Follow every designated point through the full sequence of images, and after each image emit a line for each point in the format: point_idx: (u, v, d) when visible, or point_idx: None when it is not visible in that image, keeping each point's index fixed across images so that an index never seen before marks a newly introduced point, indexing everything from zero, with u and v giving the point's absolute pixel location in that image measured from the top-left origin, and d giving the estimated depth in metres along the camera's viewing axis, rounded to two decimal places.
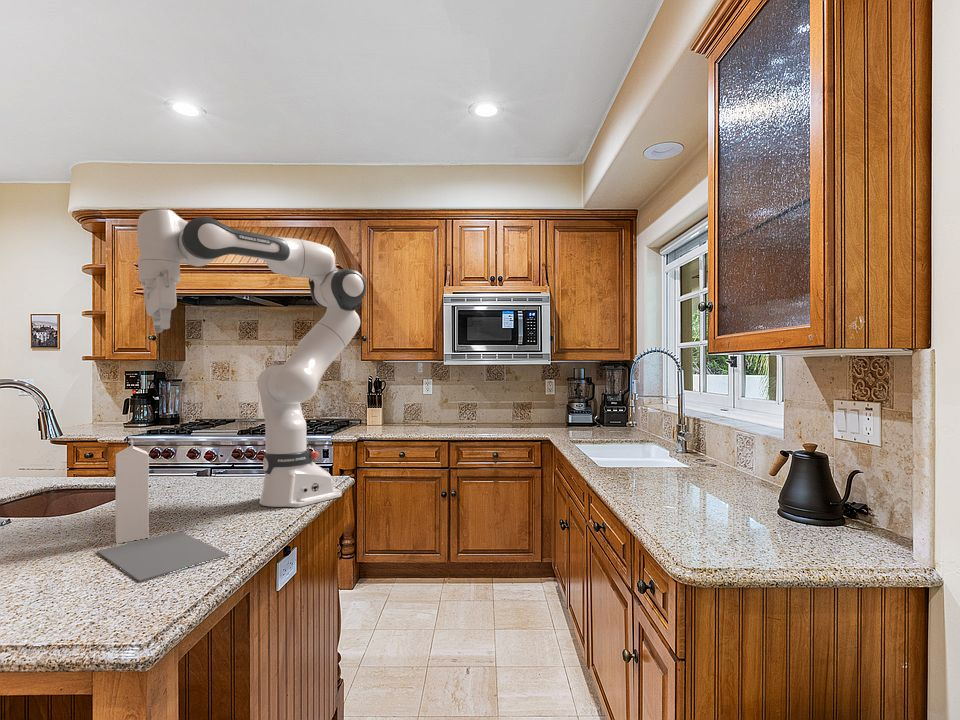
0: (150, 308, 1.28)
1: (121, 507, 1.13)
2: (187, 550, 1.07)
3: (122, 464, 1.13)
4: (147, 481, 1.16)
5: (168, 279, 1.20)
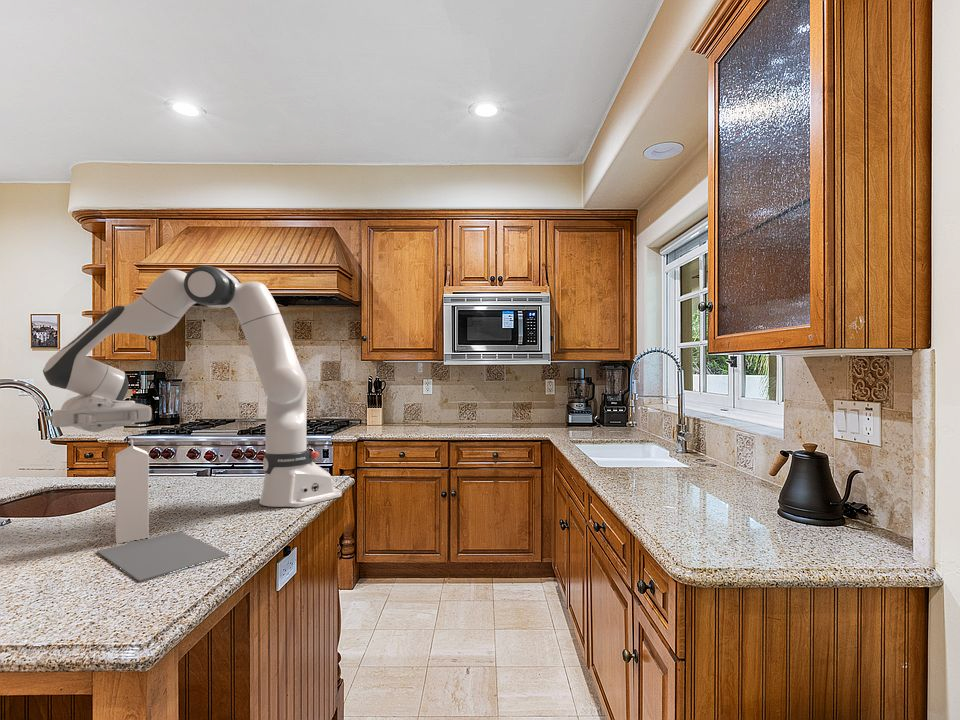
0: (119, 422, 1.30)
1: (121, 507, 1.13)
2: (187, 550, 1.07)
3: (122, 464, 1.13)
4: (147, 481, 1.16)
5: (46, 417, 1.23)
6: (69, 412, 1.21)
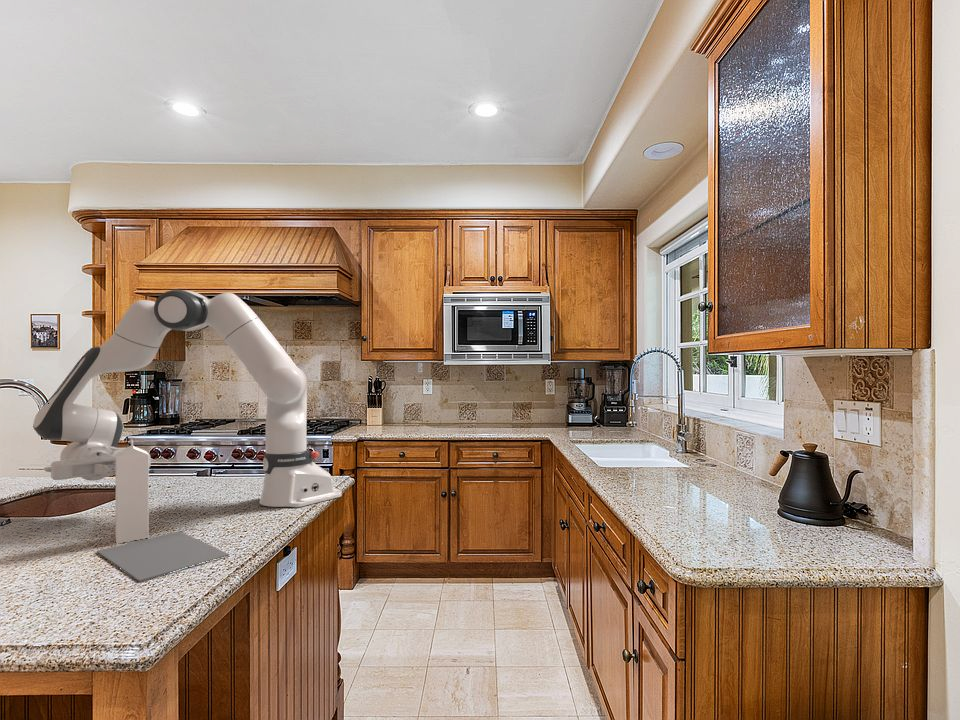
0: None
1: (121, 507, 1.13)
2: (187, 550, 1.07)
3: (122, 464, 1.13)
4: (147, 481, 1.16)
5: (45, 469, 1.23)
6: (68, 464, 1.21)
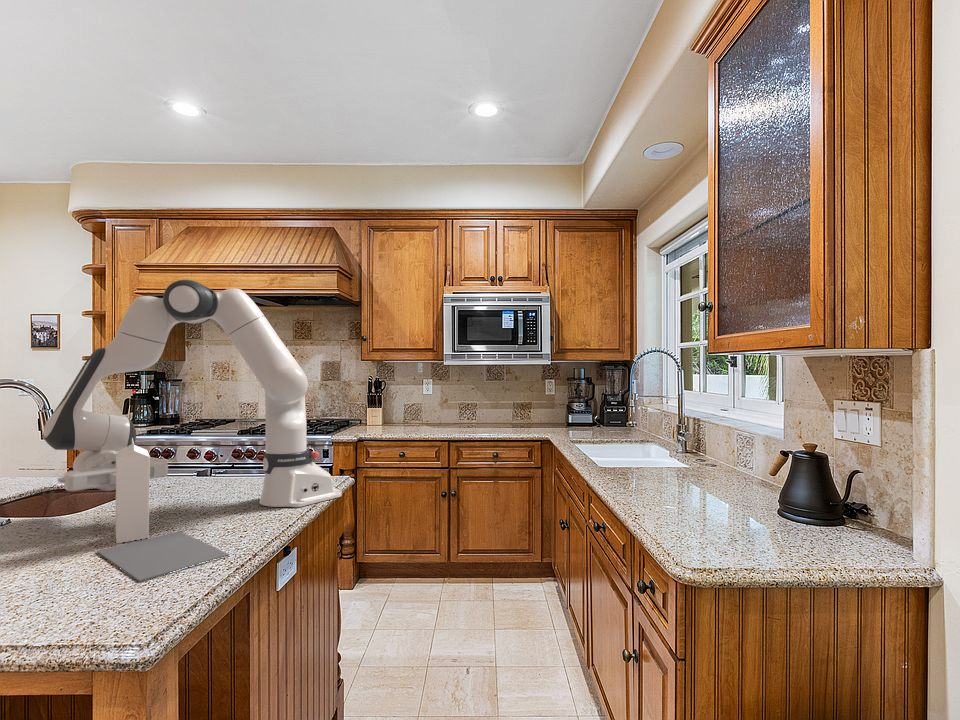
0: None
1: (121, 508, 1.12)
2: (187, 550, 1.07)
3: (122, 466, 1.11)
4: (148, 483, 1.14)
5: (59, 479, 1.16)
6: (83, 475, 1.15)
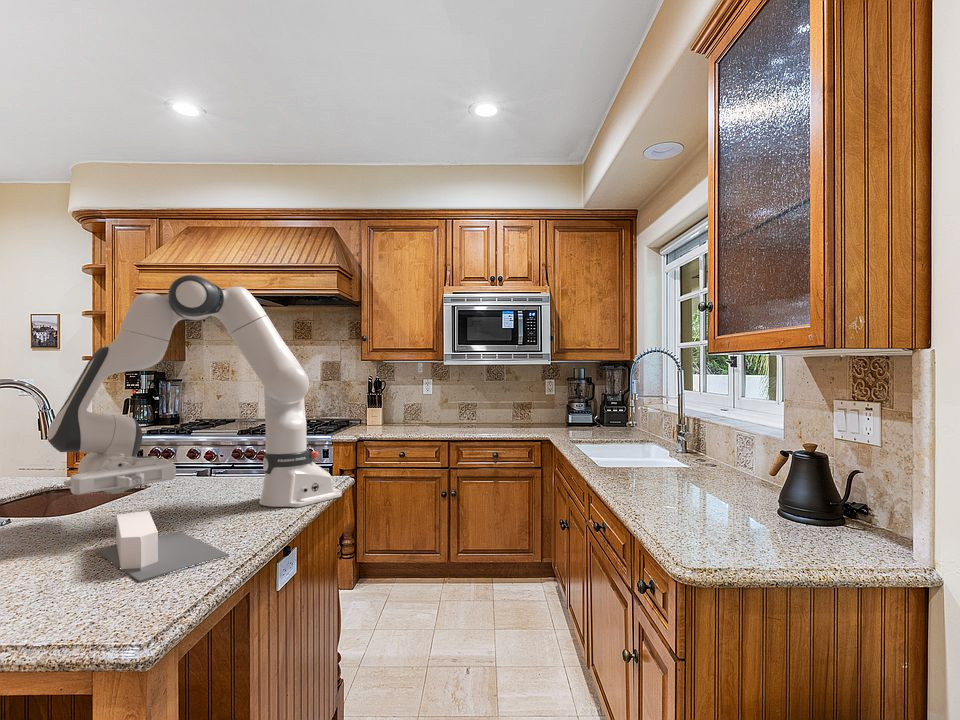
0: None
1: None
2: (187, 550, 1.07)
3: None
4: None
5: (65, 482, 1.13)
6: (89, 478, 1.12)
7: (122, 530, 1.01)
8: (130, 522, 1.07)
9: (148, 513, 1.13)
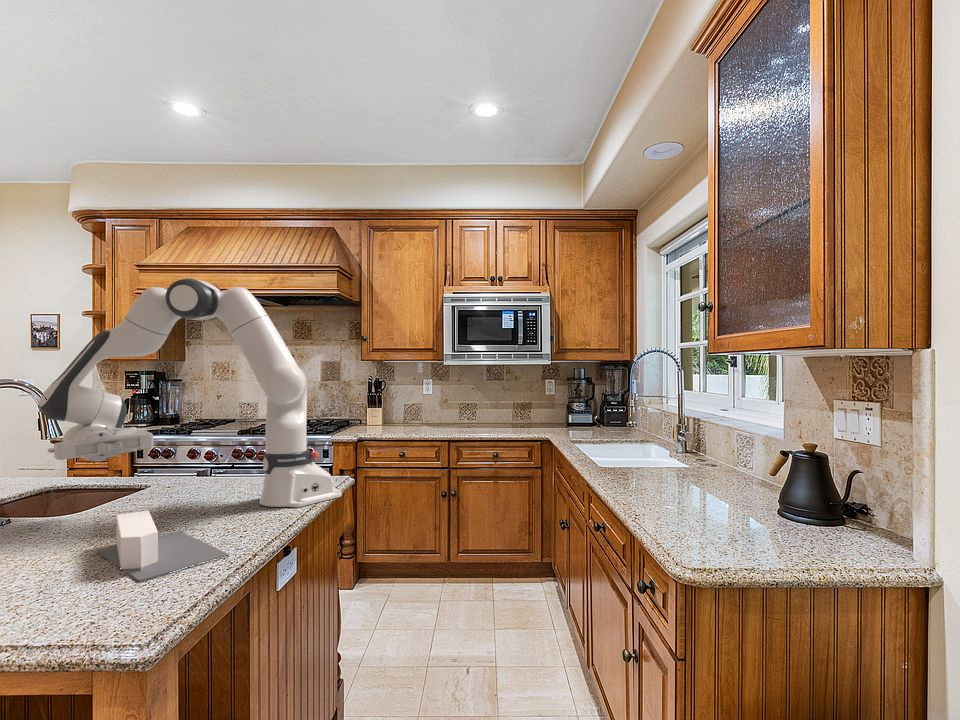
0: (122, 451, 1.30)
1: None
2: (187, 550, 1.07)
3: None
4: None
5: (49, 450, 1.23)
6: (71, 444, 1.21)
7: (122, 530, 1.01)
8: (130, 522, 1.07)
9: (148, 513, 1.13)
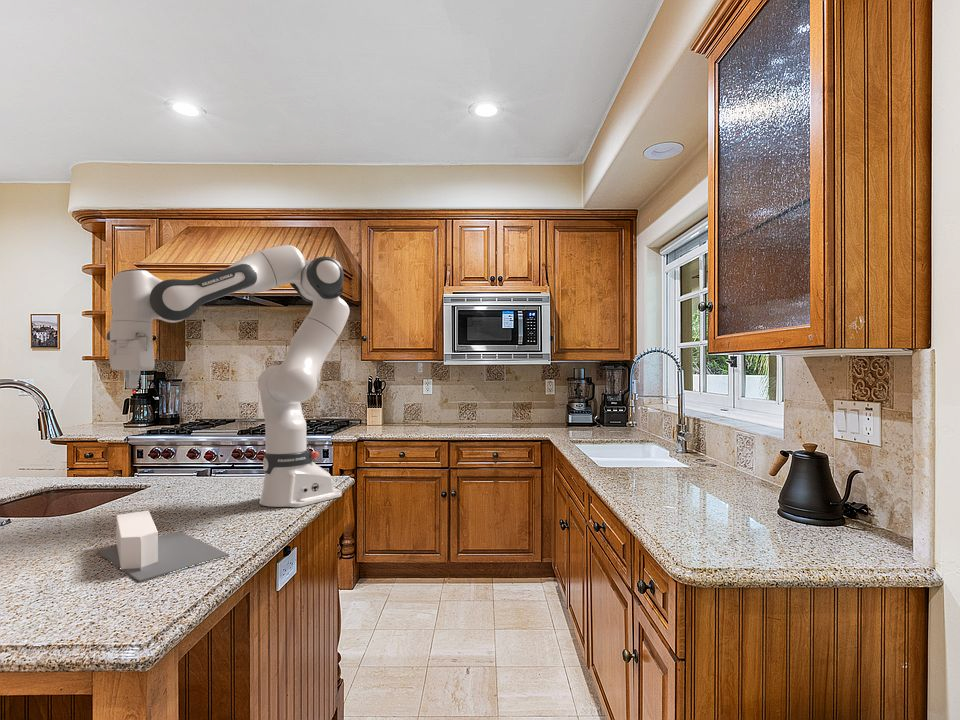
0: (119, 365, 1.30)
1: None
2: (187, 550, 1.07)
3: None
4: None
5: (148, 343, 1.24)
6: None
7: (122, 530, 1.01)
8: (130, 522, 1.07)
9: (148, 513, 1.13)
